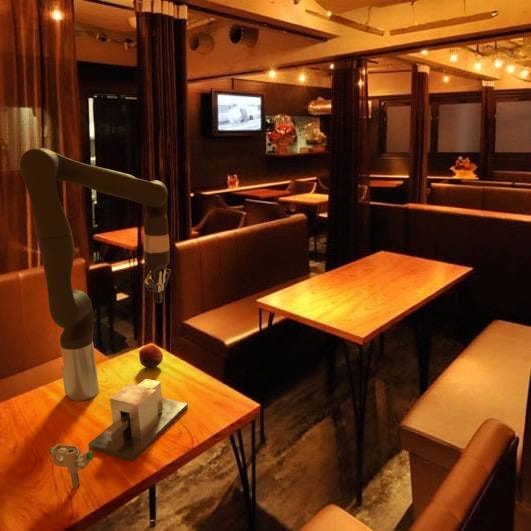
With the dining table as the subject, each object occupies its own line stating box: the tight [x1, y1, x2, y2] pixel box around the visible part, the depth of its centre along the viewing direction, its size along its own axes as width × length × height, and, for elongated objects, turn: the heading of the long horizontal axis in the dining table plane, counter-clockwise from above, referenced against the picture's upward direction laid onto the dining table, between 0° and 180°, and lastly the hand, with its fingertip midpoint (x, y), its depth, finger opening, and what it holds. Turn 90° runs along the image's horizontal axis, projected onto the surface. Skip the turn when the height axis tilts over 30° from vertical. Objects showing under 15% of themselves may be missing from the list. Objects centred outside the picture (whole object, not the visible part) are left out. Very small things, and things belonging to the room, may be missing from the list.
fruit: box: [138, 344, 164, 370], centre depth 171 cm, size 8×8×8 cm
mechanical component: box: [48, 443, 94, 489], centre depth 115 cm, size 3×10×10 cm, turn 78°
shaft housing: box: [87, 383, 189, 463], centre depth 137 cm, size 14×26×12 cm, turn 157°
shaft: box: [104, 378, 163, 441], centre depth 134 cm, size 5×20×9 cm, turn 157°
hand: (157, 302), depth 155 cm, fingers closed
